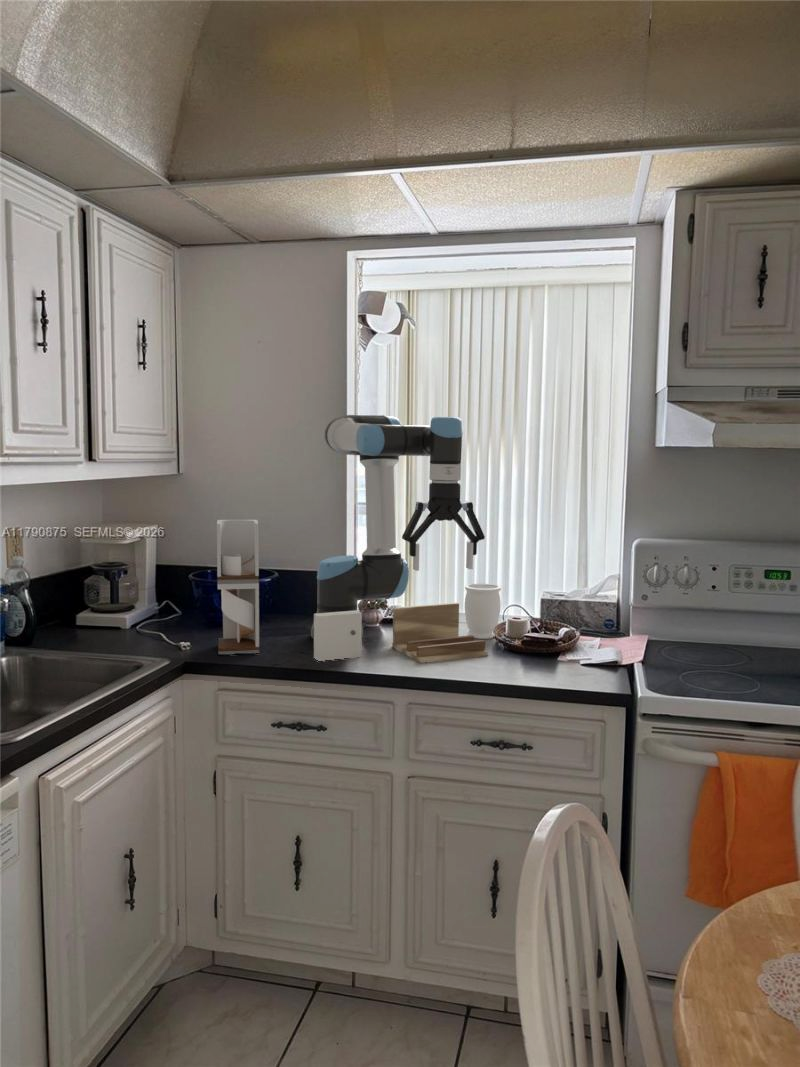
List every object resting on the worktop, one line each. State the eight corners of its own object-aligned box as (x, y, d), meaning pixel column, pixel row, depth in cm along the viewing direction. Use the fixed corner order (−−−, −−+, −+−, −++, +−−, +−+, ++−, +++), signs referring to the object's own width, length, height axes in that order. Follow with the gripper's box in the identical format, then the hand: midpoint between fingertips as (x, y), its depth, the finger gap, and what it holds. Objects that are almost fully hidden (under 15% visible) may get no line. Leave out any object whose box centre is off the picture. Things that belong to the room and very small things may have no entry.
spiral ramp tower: (218, 645, 221) (217, 519, 218) (257, 643, 223) (257, 519, 220) (218, 655, 210) (216, 523, 206) (259, 654, 212) (258, 523, 209)
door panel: (313, 658, 209) (313, 613, 208) (356, 654, 214) (356, 610, 213) (318, 662, 205) (319, 616, 204) (362, 658, 210) (362, 613, 209)
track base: (392, 647, 222) (392, 607, 221) (455, 640, 230) (456, 602, 229) (420, 663, 206) (421, 620, 204) (487, 655, 214) (488, 614, 213)
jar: (490, 631, 243) (492, 582, 241) (505, 639, 233) (507, 588, 231) (458, 633, 239) (459, 584, 238) (472, 641, 230) (473, 590, 228)
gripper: (398, 482, 185) (396, 572, 187) (499, 482, 191) (496, 570, 193) (390, 480, 192) (389, 567, 194) (488, 481, 198) (485, 565, 201)
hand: (442, 569), depth 194 cm, fingers open, 13 cm apart
